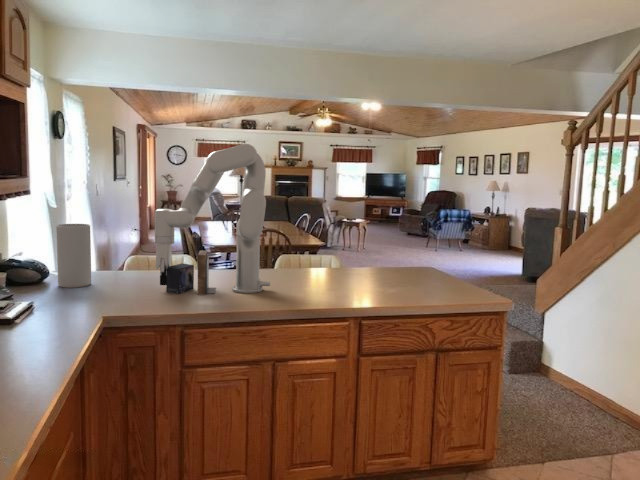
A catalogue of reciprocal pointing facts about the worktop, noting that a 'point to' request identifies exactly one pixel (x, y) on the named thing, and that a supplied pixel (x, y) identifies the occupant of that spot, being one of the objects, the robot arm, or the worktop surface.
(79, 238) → the cylinder vase
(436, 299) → the worktop surface
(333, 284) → the worktop surface
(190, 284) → the small box
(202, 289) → the walnut block
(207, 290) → the metal bookend
